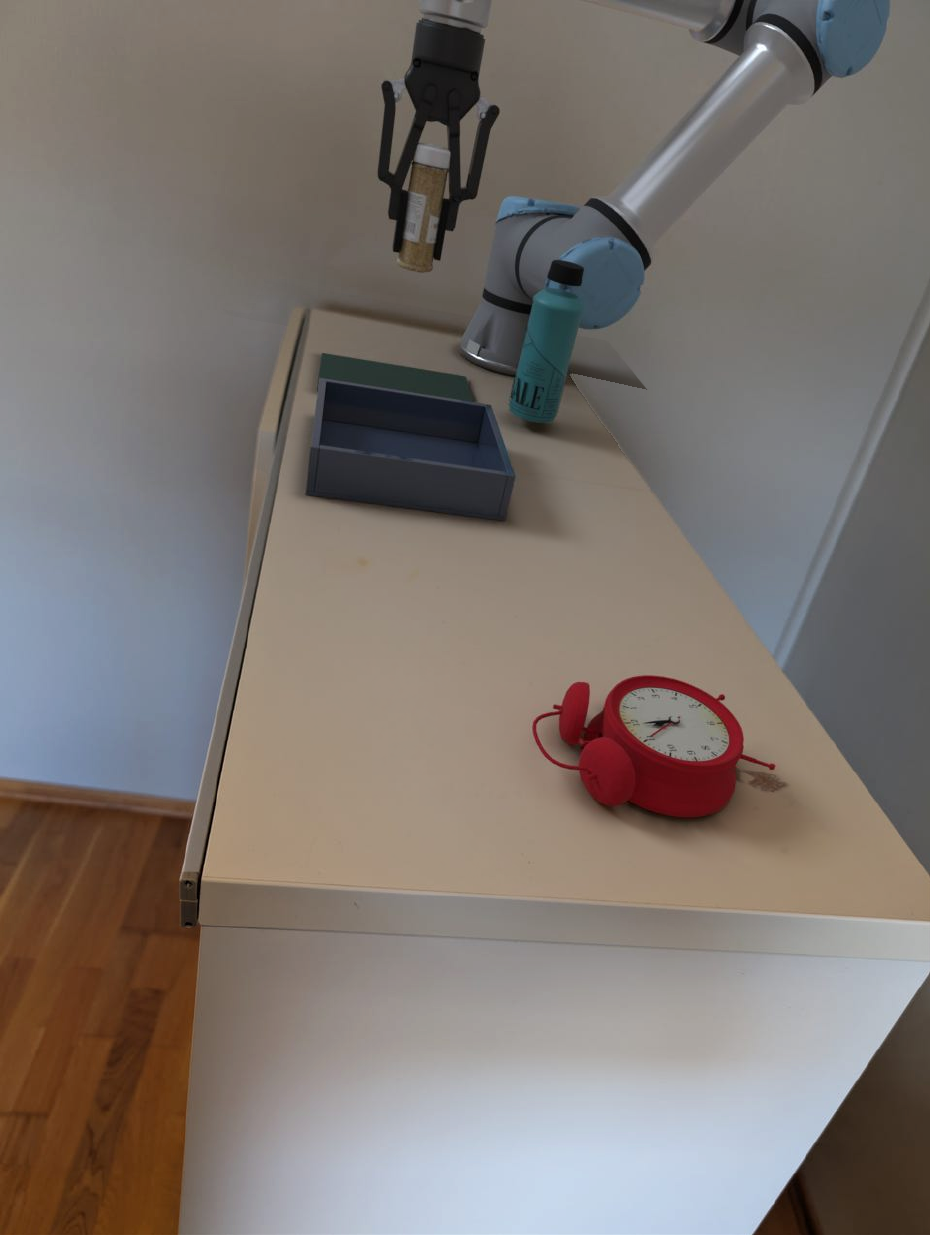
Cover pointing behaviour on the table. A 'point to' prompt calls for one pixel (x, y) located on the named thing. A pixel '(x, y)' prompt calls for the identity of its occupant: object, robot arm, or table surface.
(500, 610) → the table surface
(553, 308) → the beverage bottle
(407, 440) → the open box
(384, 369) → the mat
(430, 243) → the sprinkles bottle
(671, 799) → the alarm clock
